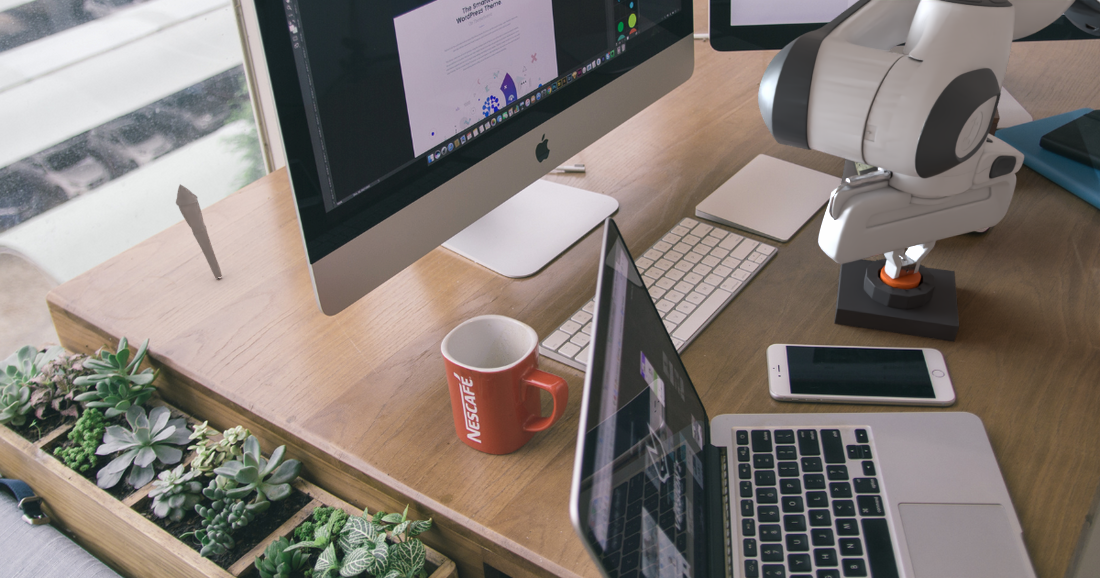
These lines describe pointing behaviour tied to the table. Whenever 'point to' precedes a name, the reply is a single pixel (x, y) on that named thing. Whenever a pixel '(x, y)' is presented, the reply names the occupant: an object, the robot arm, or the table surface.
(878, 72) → the robot arm
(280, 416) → the table surface
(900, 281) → the button
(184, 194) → the grey arrowhead stake
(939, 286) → the dark grey button base
